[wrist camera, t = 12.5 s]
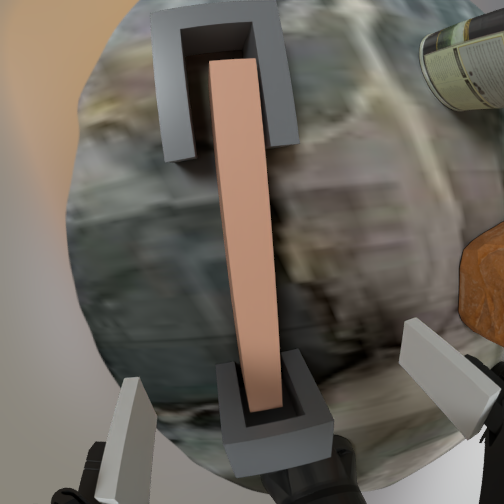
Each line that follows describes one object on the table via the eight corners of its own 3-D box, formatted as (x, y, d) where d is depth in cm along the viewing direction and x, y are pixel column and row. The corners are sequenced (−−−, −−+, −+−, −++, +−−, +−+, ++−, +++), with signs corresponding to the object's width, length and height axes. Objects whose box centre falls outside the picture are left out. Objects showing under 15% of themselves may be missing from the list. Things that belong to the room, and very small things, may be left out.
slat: (268, 363, 32) (282, 406, 25) (240, 367, 31) (250, 412, 25) (242, 84, 23) (255, 58, 17) (208, 86, 23) (209, 61, 16)
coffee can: (414, 20, 22) (499, -17, 9) (471, 52, 24) (551, 36, 11) (419, 97, 25) (522, 82, 12) (476, 122, 27) (565, 124, 14)
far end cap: (300, 387, 33) (330, 456, 23) (225, 402, 32) (236, 478, 22) (298, 348, 31) (334, 420, 21) (215, 364, 30) (223, 444, 20)
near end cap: (279, 147, 25) (299, 143, 19) (174, 162, 24) (165, 162, 18) (261, 30, 22) (275, 0, 16) (160, 41, 21) (149, 12, 15)
